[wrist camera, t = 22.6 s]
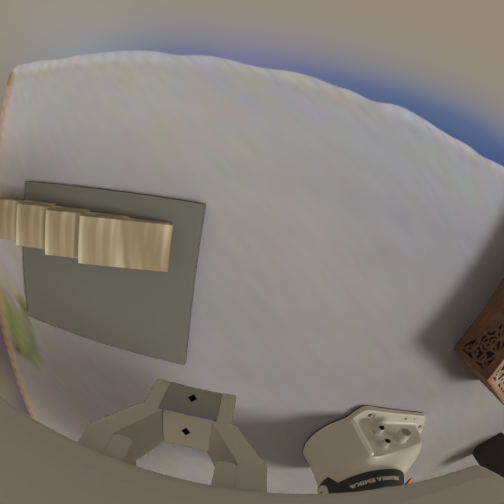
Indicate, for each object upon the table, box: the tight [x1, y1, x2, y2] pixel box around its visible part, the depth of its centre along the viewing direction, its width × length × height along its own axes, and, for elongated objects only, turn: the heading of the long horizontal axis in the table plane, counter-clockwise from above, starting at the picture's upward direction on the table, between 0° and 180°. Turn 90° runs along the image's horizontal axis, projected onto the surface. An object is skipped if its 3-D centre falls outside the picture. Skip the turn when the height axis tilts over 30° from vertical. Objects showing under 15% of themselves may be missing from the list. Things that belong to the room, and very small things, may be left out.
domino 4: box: [78, 214, 173, 272], centre depth 28 cm, size 2×5×10 cm
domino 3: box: [45, 209, 130, 258], centre depth 28 cm, size 2×5×10 cm
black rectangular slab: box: [473, 433, 504, 478], centre depth 36 cm, size 11×4×15 cm, turn 96°
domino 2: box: [16, 203, 92, 249], centre depth 28 cm, size 2×5×10 cm
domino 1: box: [0, 198, 58, 241], centre depth 28 cm, size 2×5×10 cm
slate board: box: [23, 181, 206, 365], centre depth 32 cm, size 26×20×1 cm
